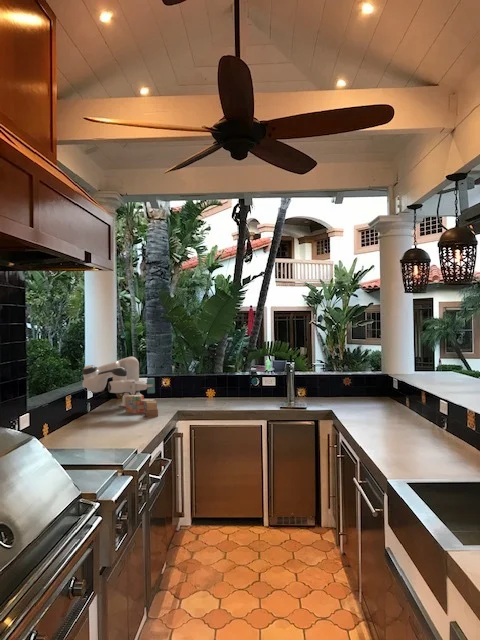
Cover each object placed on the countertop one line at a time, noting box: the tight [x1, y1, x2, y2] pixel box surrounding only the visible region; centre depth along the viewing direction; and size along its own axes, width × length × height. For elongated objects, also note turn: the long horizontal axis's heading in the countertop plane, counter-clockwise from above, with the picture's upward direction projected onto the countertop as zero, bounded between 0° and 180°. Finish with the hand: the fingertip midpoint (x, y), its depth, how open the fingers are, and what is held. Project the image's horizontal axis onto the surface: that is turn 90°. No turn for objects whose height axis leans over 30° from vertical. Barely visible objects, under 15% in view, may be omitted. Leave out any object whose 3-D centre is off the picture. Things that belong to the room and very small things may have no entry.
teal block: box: [146, 377, 156, 394], centre depth 342 cm, size 5×5×10 cm
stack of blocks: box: [125, 394, 156, 414], centre depth 357 cm, size 21×6×12 cm, turn 75°
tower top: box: [146, 400, 158, 410], centre depth 342 cm, size 7×7×5 cm
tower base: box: [144, 408, 159, 418], centre depth 342 cm, size 8×8×5 cm
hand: (152, 384), depth 342 cm, fingers closed on teal block, 5 cm apart
